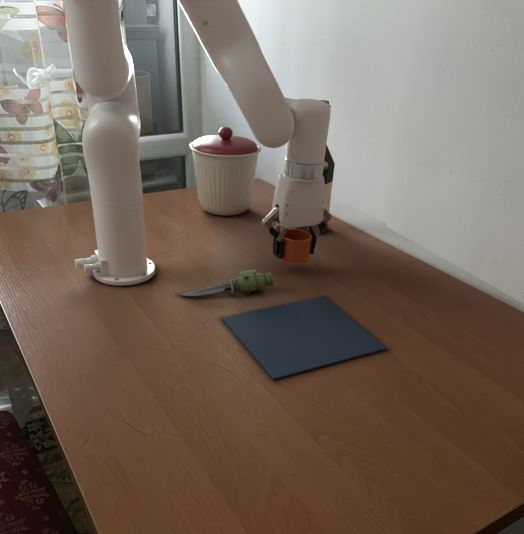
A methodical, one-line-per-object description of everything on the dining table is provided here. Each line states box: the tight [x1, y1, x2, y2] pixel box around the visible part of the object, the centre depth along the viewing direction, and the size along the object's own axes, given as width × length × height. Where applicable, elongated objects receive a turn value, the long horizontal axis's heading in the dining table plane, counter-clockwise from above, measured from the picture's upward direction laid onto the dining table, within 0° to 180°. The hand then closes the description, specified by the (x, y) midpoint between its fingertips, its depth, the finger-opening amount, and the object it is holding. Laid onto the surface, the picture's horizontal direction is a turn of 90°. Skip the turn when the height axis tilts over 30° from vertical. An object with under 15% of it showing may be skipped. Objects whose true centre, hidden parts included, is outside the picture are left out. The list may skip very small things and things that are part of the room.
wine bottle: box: [294, 99, 336, 235], centre depth 131 cm, size 8×8×30 cm
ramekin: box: [279, 228, 312, 265], centre depth 115 cm, size 7×7×5 cm
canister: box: [189, 126, 262, 216], centre depth 142 cm, size 18×18×21 cm
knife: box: [179, 268, 274, 298], centre depth 107 cm, size 4×18×5 cm
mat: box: [221, 296, 387, 381], centre depth 97 cm, size 22×20×1 cm
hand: (293, 253), depth 116 cm, fingers closed on ramekin, 6 cm apart
